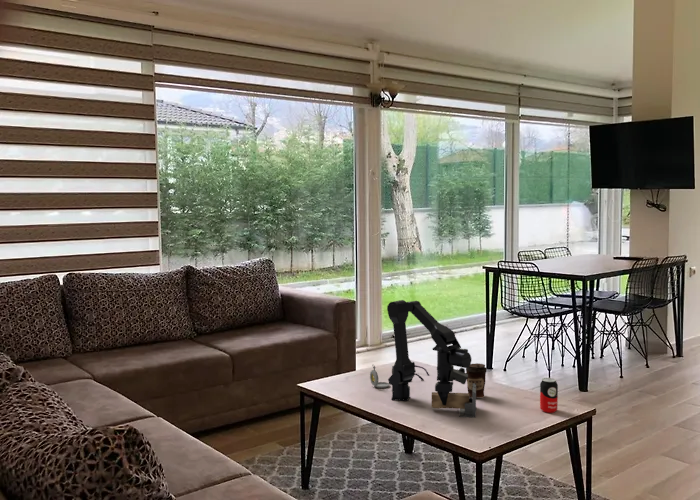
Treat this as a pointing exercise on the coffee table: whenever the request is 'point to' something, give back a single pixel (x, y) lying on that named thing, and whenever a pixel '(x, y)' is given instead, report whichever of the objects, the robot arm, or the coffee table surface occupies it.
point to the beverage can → (548, 395)
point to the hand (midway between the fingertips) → (444, 403)
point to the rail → (450, 400)
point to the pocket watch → (375, 378)
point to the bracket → (470, 405)
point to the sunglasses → (415, 374)
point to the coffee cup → (476, 379)
